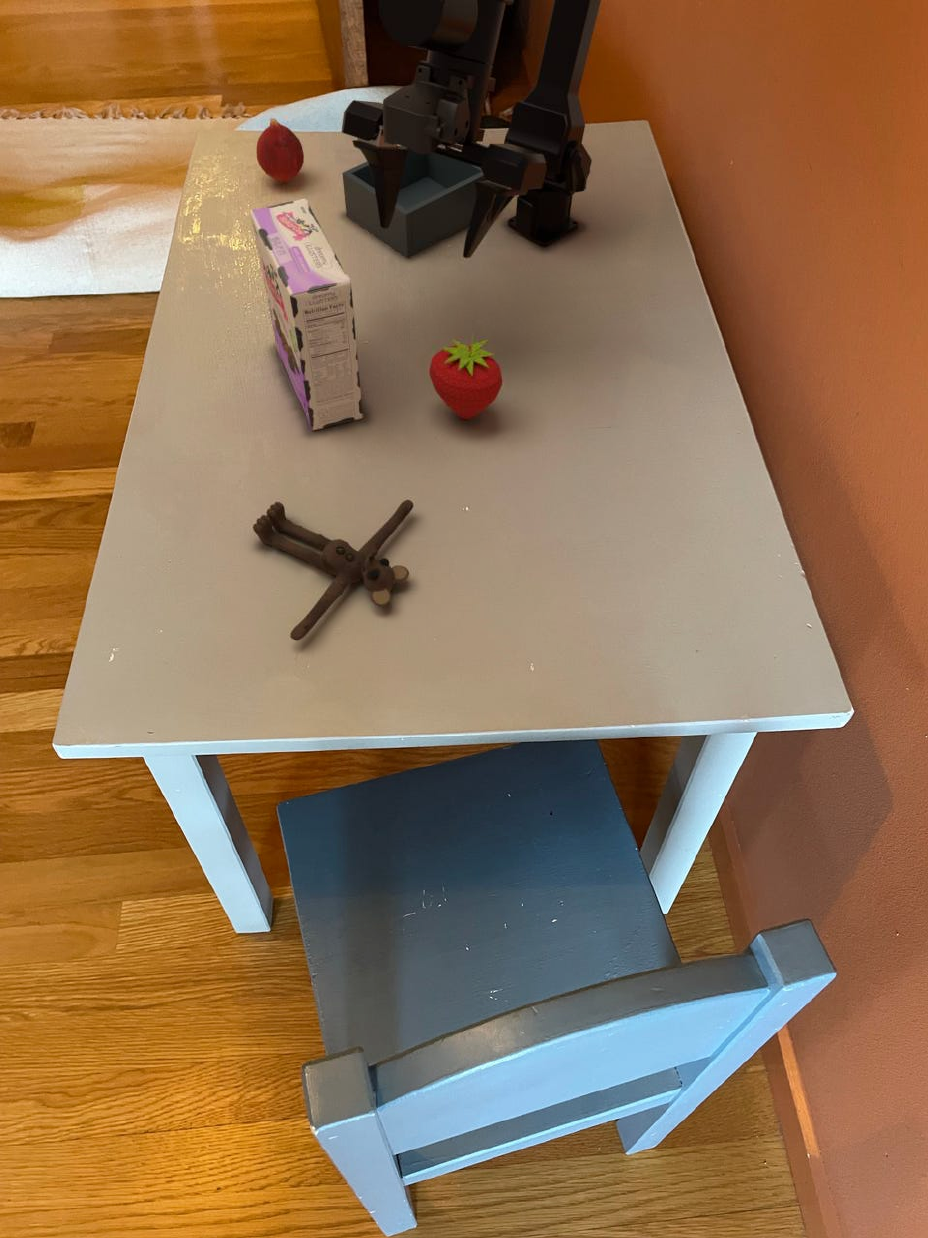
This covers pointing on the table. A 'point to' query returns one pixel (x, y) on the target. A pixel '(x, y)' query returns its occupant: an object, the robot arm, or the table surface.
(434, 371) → the strawberry
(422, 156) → the bin
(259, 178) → the table surface
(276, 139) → the onion
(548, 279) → the table surface
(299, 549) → the bear figurine
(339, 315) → the candy box
